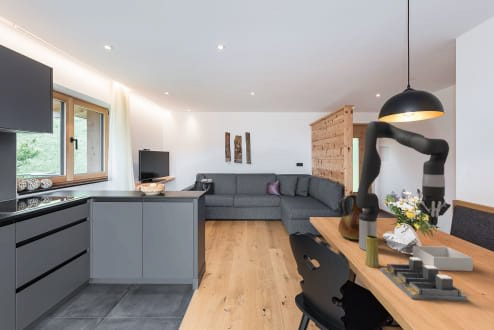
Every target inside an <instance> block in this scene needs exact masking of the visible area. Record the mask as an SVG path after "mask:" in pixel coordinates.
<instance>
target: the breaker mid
mask: <svg viewBox="0 0 494 330" xmlns="http://www.w3.org/2000/svg"><path fill="white" fill-rule="evenodd" d="M422 266H423V278H433V279H436V275H439V270H438V269H437V268H436V267H434V266H433V265H425V264H424V265H422Z"/></svg>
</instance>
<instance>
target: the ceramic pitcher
mask: <svg viewBox="0 0 494 330" xmlns="http://www.w3.org/2000/svg"><path fill="white" fill-rule="evenodd" d="M356 197H357V193H356V194H354V193H349V194H347V195H346V196H344V197H343V198H342V200H341V208H342V211H343V216H342V217H341V218H340V220H339V222H338V233H339V234H340V235H341V236H343V237H345V238H347V239H350V240H354V241H356V240H357V241H359V215H360V214H361V213H363V212H364V209H361V208H359V207H358V206H357V204H356ZM350 198H352V200H353V203H352V204H353V205H352V207H351V210H349V211H347V208H346V202H347V200H348V199H350Z"/></svg>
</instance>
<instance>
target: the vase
mask: <svg viewBox="0 0 494 330" xmlns="http://www.w3.org/2000/svg"><path fill="white" fill-rule="evenodd" d="M365 251H366V252H365V260H364V264H365V265H366V266H367V267H369V268H376V269H377V268H379V266H380V264H379V263H380V262H379V261H380V260H379V237H378V236H377V235H376V236H373V235H367V236H366V250H365Z"/></svg>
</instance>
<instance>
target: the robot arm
mask: <svg viewBox="0 0 494 330" xmlns="http://www.w3.org/2000/svg"><path fill="white" fill-rule="evenodd" d="M364 135H365V140H364V141H365V142H364V153H363V160H362V164H361V165H362V166H361V174H360V180H359V184H358V188H357V192H356V195H357V197H356V204H357V206H358V207H359V208H361V209H363V210H364V209H366V210H365V211H363V213H361V214H360V215H359V240H358V249H359V248H360V249H361V250H364V251H366V236H367V235H373V236H377V231H378V230H377V227H378V226H377V222H378V221H377V219H378V215H379V205H380V204H379V197H378V195H377V194H376V193H375V192H369V190H370V187H371V185H372V184H373V183H374V182H375V180H377V178H378V177H379V175H380V173H381V167H382V160H381V156H380V154H379V152H378V149H377V143H378V139H383V138H384V139H391V140H395V141H396V143H398V144H400V145H402V146H405V147H407V148H410V149H413V150H414V151H416V152H418V153H419V154H422V155H426V156H430V157H429V160H426V161H424V162H423V167H422V168H423V169H422V180H421V182H422V184H421V185H422V187H421V190H422V191H421V194H422V198H421V201H420V202H416V204H415V205H416V206H417V208H418V209H419V210H420V211H421V213H422V214H423V215H426V216H427V217H428V220H427V222H428V224H429V225H430V226H437V225H438V223H439V220H438V219H439V217H440V216H441V217H442V216H444V214H445V213H446V212H447V211H448V210H449V208H451V204H450V203H447V202H446V199H445V197H446V195H445V194H446V180H445V179H446V177H445V165H446V162H447V158H448V155H449V151H450V146H449V142H447V141H446V140H445V139H444V138H430V137H429V138H428V137H426V136H424V135H422V134H420V133H417V132H413V131H409V130H406V129H402V128H399V127H397V126H395V125H393V124H391V123H389V122H387V121H380V120H379V121H378V120H377V121H370V122H368V124H367V125H366V127H365V134H364Z"/></svg>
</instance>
